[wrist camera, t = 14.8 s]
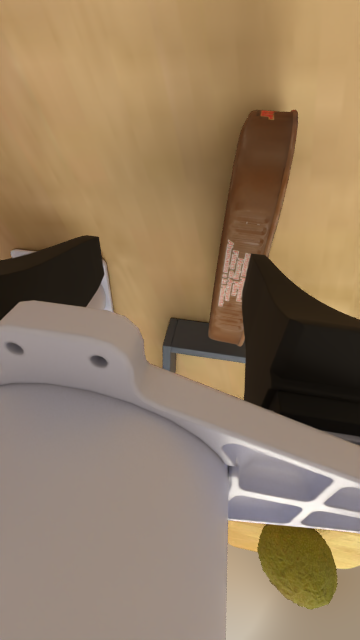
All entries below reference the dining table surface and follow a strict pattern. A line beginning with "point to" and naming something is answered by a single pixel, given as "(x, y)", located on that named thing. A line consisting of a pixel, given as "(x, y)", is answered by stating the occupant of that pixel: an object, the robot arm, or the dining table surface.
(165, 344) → the box
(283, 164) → the tin
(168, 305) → the dining table surface
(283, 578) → the fruit
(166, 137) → the dining table surface
